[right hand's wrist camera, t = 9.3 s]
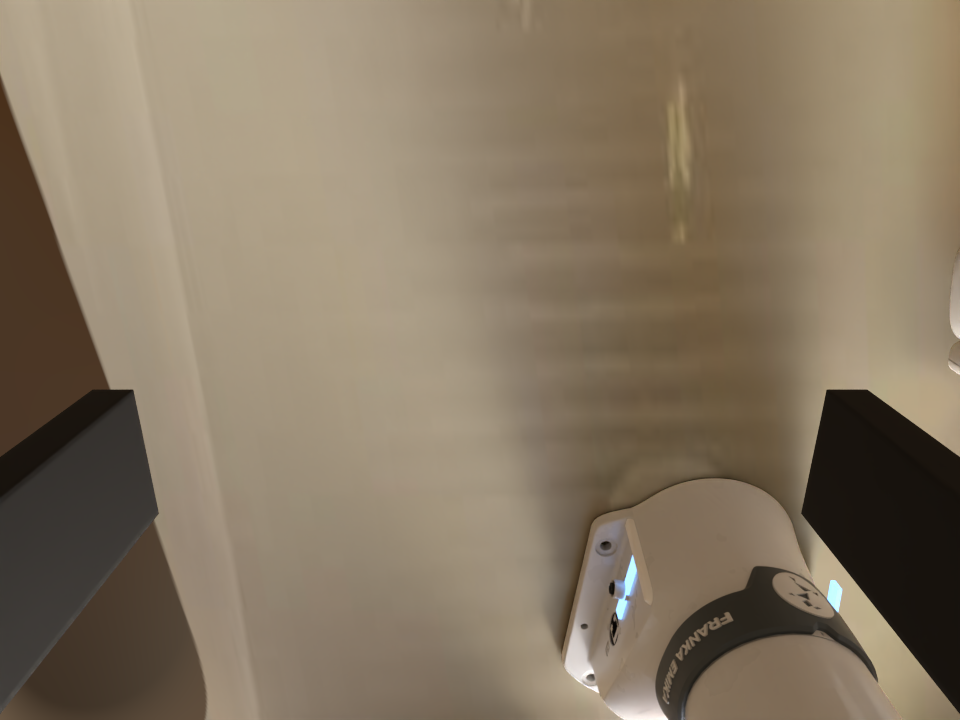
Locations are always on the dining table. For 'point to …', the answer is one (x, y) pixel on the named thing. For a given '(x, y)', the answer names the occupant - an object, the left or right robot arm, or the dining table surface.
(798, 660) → the left robot arm
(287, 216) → the dining table surface
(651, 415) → the dining table surface
